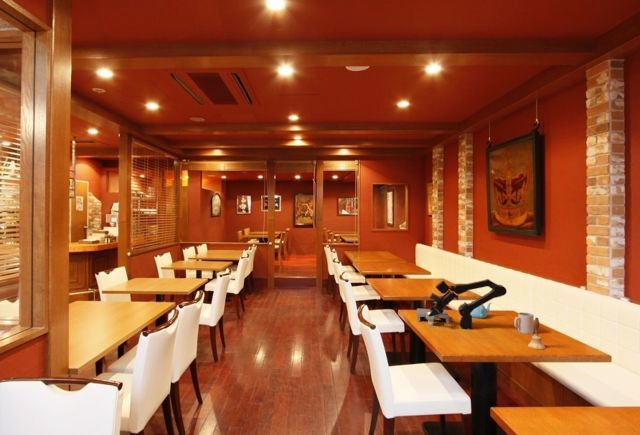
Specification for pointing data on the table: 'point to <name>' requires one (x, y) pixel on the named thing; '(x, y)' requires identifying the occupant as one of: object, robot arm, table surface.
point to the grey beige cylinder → (430, 318)
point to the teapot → (480, 311)
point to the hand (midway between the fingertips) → (428, 314)
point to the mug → (525, 323)
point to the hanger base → (444, 315)
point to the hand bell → (536, 337)
